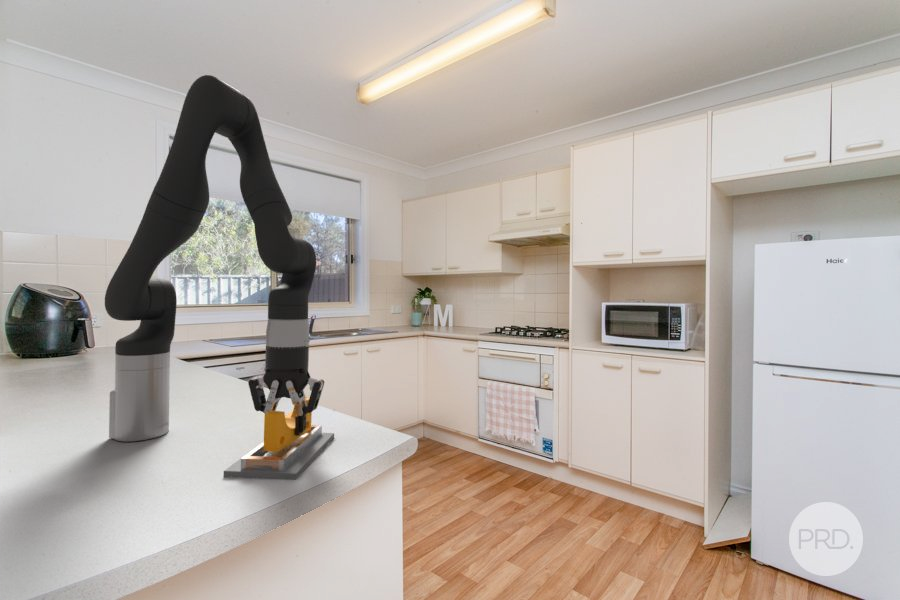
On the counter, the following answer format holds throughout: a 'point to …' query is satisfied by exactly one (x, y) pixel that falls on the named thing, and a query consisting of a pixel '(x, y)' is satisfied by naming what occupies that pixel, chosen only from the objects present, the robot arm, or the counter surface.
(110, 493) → the counter surface
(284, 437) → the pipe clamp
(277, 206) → the robot arm
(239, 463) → the mounting board
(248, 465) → the long hollow rectangular frame
